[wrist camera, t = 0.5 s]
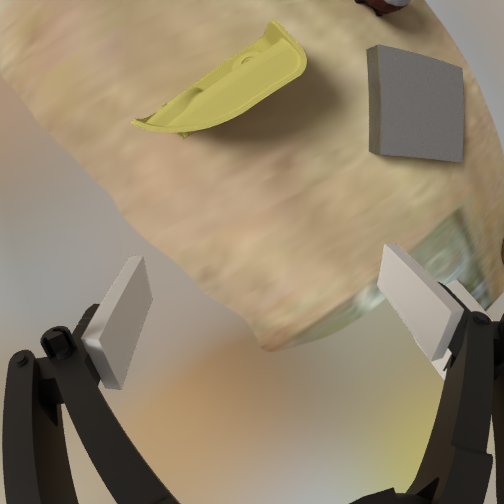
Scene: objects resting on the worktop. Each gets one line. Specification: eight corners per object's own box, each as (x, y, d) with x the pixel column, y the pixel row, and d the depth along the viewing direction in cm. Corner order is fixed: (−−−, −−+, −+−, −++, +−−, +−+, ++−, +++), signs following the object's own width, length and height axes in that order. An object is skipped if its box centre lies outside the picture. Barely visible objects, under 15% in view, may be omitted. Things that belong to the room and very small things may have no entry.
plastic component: (265, 37, 32) (275, 14, 23) (297, 77, 35) (316, 65, 26) (149, 121, 36) (124, 122, 27) (181, 160, 39) (165, 172, 30)
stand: (366, 49, 33) (378, 44, 29) (447, 69, 34) (462, 68, 30) (368, 151, 40) (381, 154, 36) (447, 158, 40) (462, 162, 37)
